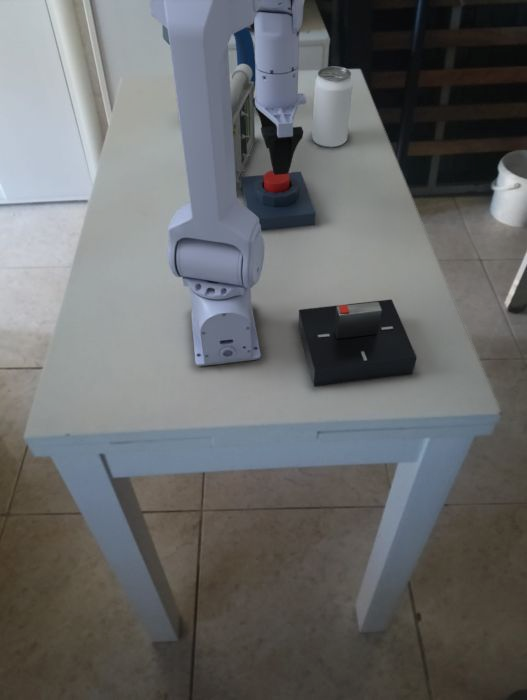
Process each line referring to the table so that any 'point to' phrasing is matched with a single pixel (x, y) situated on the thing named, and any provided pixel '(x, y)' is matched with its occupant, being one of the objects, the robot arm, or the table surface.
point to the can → (332, 106)
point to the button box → (279, 203)
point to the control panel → (355, 347)
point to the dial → (357, 320)
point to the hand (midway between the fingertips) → (276, 159)
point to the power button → (276, 182)
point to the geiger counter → (242, 115)
